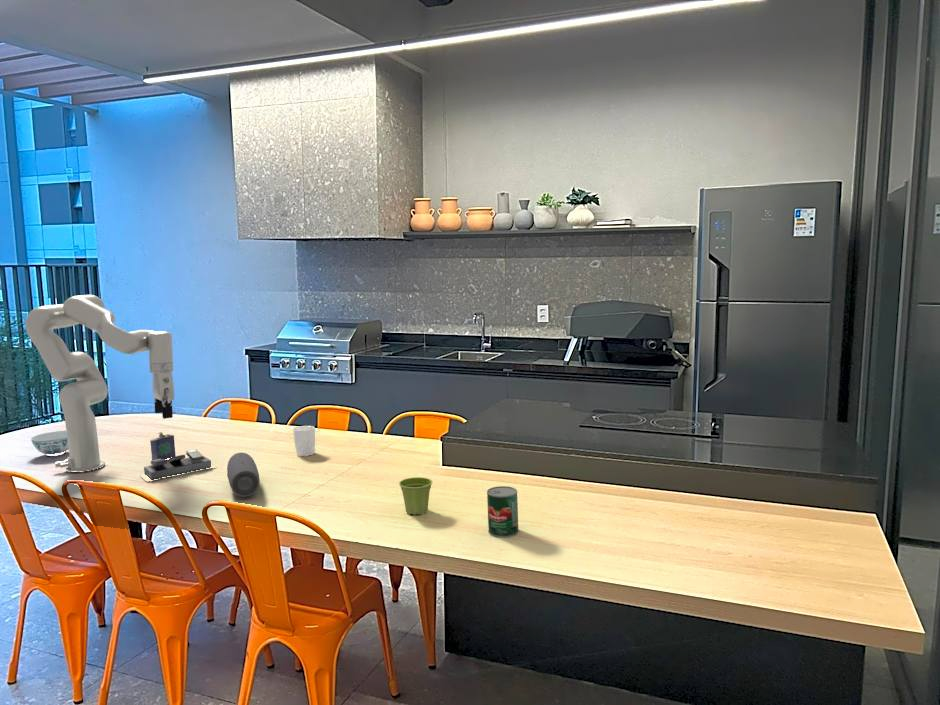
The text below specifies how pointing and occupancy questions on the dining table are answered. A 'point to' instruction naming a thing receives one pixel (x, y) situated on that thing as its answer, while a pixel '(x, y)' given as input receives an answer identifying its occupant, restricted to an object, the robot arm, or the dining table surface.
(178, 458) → the rocker middle
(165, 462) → the rocker left
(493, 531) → the canned tomato
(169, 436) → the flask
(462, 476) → the dining table surface
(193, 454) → the rocker right
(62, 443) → the chinaware
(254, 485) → the bluetooth speaker
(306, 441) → the white cup
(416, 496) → the plant pot
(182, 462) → the power strip
